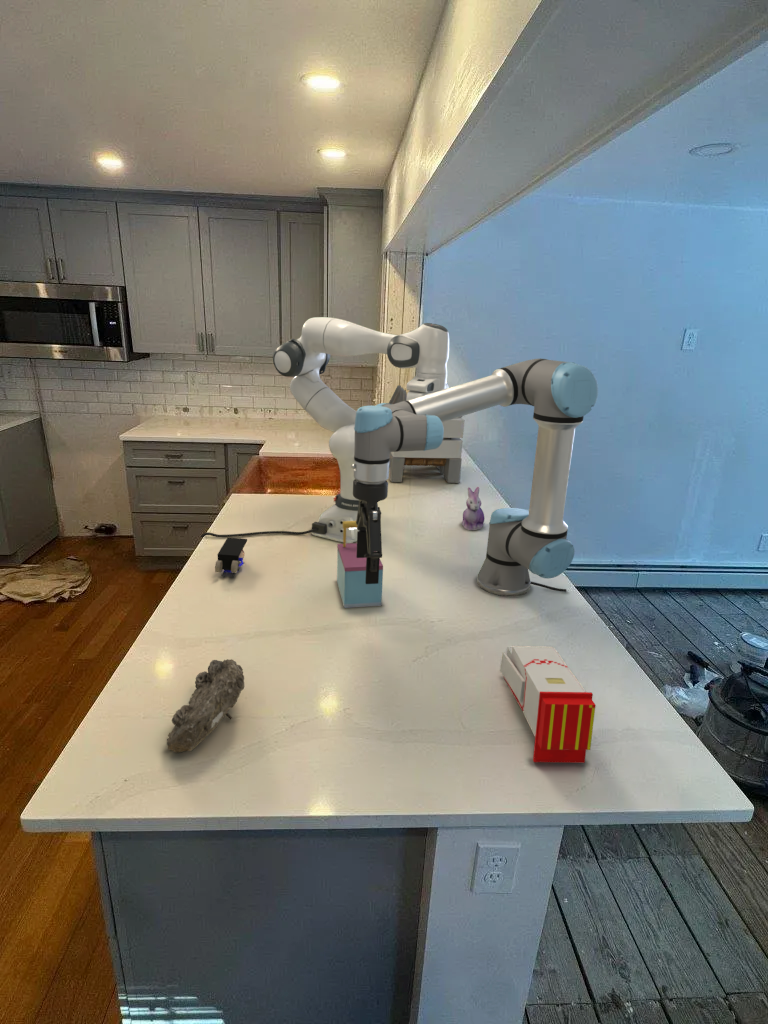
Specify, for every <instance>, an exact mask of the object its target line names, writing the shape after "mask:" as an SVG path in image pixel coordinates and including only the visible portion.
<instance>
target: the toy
mask: <svg viewBox="0 0 768 1024" xmlns="http://www.w3.org/2000/svg"><path fill="white" fill-rule="evenodd" d="M506 650H507V651H502V652H501V659H500V666H499V671H500V673H501V675H502V677H503V679H504V681H505V683H506V684H507V687H508V688H509V690H510V692H511V693H512V696H513V697H514V699H515V700H516V703H517V704H518V706H519V708H520V709H521V711H522V712H523V716H524V717H525V719H526V722H527V723H528V726H529V728H530V730H531V731H532V734H533V736H534V744H533V745H534V746H533V757H532V762H533V763H568V764H569V763H575V764H576V763H577V764H578V763H579V764H582V763H583V764H585V762H586V754H587V751H591V747H592V746H591V745H592V738H593V729H594V722H595V713H596V707H597V706H596V703H595V702H594V700H593V696H594V695H593V692H590V691H589V692H587V691H586V690H585V688H584V687H583V686H582V684H581V683H580V681H579V680H578V679H577V677H576V676H575V675H574V673H573V672H572V671H571V669H570V668H569V667H568V665H567V664H566V662H565V661H564V659H563V658H562V656H561V655H560V653H559V651H557V649H556V648H555V647H554V646H545V645H544V646H543V645H542V646H540V645H535V646H534V645H512V646H507V649H506Z"/></svg>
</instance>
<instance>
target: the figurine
mask: <svg viewBox="0 0 768 1024" xmlns="http://www.w3.org/2000/svg"><path fill="white" fill-rule="evenodd" d="M479 494H480V486H477V487H475V489H474V490H473V489H472V488H471V487H470V486H468V487H467V499H466V502H465V504H466V509H465V510H463V513H462V521H461V526H462V527H463V528H464V529H465V530H469V531H476V530H480V529H482V528H483V527H484V524H485V513H484V511H483V509H482V501H481V498H480V496H479Z"/></svg>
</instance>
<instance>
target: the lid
mask: <svg viewBox="0 0 768 1024" xmlns="http://www.w3.org/2000/svg"><path fill="white" fill-rule="evenodd" d="M357 526H358V525H357V524H356V521H343V542H342V543H337V545H336V547H337V550H338V551H339V554H340V557H341V561H342V564H343V567H344V570H345V571H364V570H366V558H357V557H356V556H357V542H353V543H346V528H357ZM374 552H377V551H374ZM379 570H383V571H384V564H383V562H382V560H381V559H380V560H379Z"/></svg>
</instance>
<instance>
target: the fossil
mask: <svg viewBox="0 0 768 1024" xmlns="http://www.w3.org/2000/svg"><path fill="white" fill-rule="evenodd" d="M243 670H244V669H243V667H242V665H240V664H237V662H236V661H235V660H234V659H232V658H231V659H227V658H226V659H224V660H223V661H222V660H217V659H212V660H211V661H210V663H209V665H208V666H207V671H201V672H199V673H198V674H197V675H196V676H195V680H194V684H195V685H194V687H195V689H194V690H193V693H192V694H191V697H190V698H189V700H188V704H184V705H182V706H181V707H180V709H177V710H176V711H175V713H174V715H173V716H172V718H171V723H172V724H173V727H172V730H171V731H170V732H168V734H167V738H166V741H167V742H166V745H167V749H168V750H169V751H173V752H174V753H176V754H178V753H182V752H188V751H189V752H192V751H193V750H195V748H196V747H197V746H199V744H200V743H201V742H203V741H204V740H205V739H206V738H207V737H208V736H209V735H210V734H211V733H212V732H214V730H215V729H217V727H218V726H219V724H220V722H221V721H222V720H223V719H224V718H225V716H226V717H227V719H229V720H233V717H232V715H230V714H229V710H230V709H231V708H234V706H235V704H236V703H237V702H238V699H239V697H240V695H241V693H242V691H243V690H245V689H244V688H245V675H244V671H243Z"/></svg>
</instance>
